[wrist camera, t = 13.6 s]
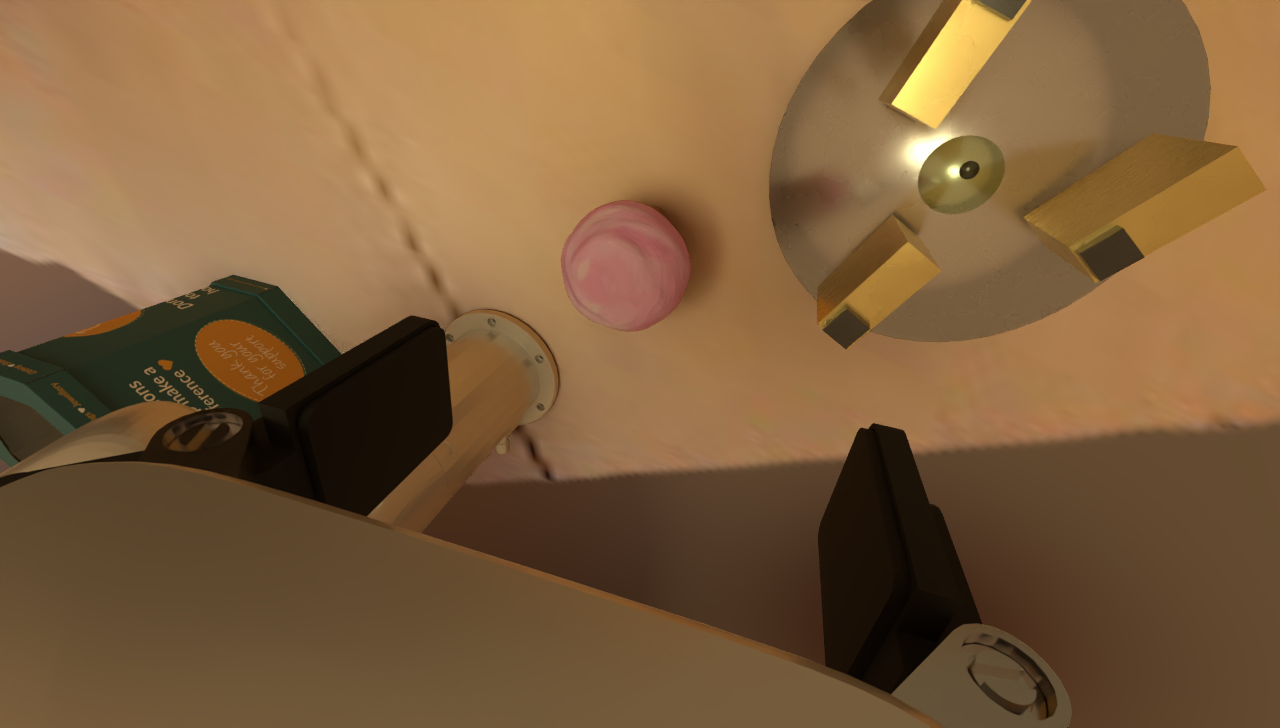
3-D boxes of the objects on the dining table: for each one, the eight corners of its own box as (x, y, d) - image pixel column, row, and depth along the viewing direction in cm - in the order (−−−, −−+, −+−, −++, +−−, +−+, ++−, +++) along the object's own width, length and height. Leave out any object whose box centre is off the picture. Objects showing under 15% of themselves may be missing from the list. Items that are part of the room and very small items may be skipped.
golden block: (892, 214, 32) (909, 244, 26) (920, 238, 32) (944, 274, 26) (817, 287, 35) (817, 328, 29) (843, 308, 35) (848, 353, 30)
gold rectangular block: (913, 120, 29) (938, 130, 23) (877, 99, 29) (893, 104, 23) (1003, -6, 26) (1058, -31, 20) (961, -28, 26) (1004, -60, 20)
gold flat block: (1152, 132, 26) (1247, 148, 21) (1176, 167, 27) (1277, 192, 21) (1022, 217, 30) (1073, 250, 24) (1046, 247, 30) (1101, 287, 24)
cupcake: (659, 160, 37) (612, 183, 28) (728, 256, 38) (704, 305, 30) (577, 232, 41) (516, 271, 33) (643, 314, 43) (601, 371, 35)
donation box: (298, 423, 65) (10, 615, 42) (199, 324, 61) (-178, 475, 38) (357, 370, 57) (39, 572, 34) (247, 253, 53) (-196, 389, 30)
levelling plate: (1059, 358, 35) (1074, 376, 33) (744, 298, 40) (740, 310, 38) (1297, -43, 24) (1342, -54, 22) (818, -62, 28) (818, -74, 26)
